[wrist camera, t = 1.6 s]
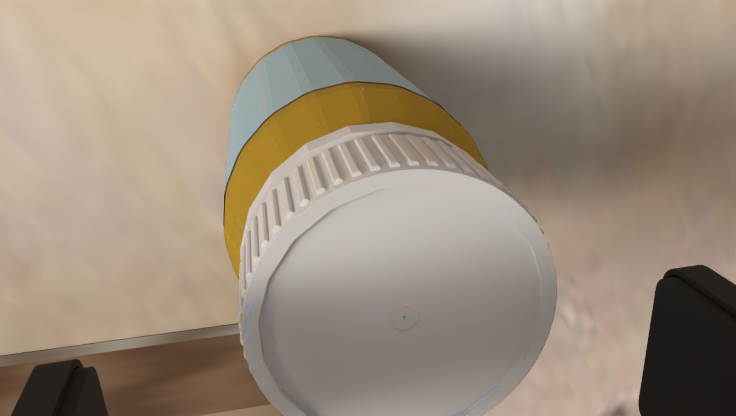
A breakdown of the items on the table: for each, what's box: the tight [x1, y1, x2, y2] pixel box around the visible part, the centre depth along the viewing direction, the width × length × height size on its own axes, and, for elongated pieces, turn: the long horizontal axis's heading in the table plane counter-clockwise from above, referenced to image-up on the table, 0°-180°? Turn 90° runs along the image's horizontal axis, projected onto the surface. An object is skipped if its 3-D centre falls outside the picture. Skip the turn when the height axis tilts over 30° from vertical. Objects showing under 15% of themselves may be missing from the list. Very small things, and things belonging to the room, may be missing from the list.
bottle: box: [224, 36, 557, 416], centre depth 18 cm, size 7×7×15 cm
